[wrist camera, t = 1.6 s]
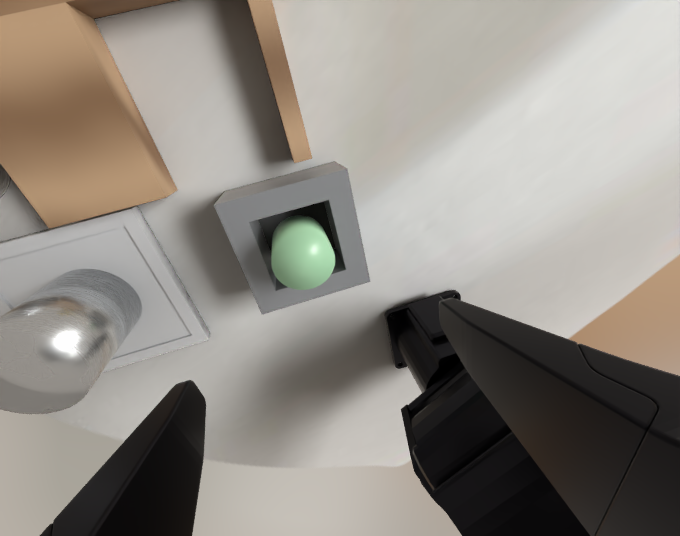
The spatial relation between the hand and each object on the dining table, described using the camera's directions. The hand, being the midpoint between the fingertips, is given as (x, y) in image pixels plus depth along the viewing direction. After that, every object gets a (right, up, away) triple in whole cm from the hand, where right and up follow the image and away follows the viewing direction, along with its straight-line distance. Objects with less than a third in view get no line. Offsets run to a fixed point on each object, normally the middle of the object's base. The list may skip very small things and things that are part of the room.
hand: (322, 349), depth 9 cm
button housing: (-2, +5, +11) cm, 12 cm away
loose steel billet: (-15, 0, +10) cm, 18 cm away
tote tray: (-15, 0, +10) cm, 18 cm away
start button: (-2, +4, +8) cm, 10 cm away
